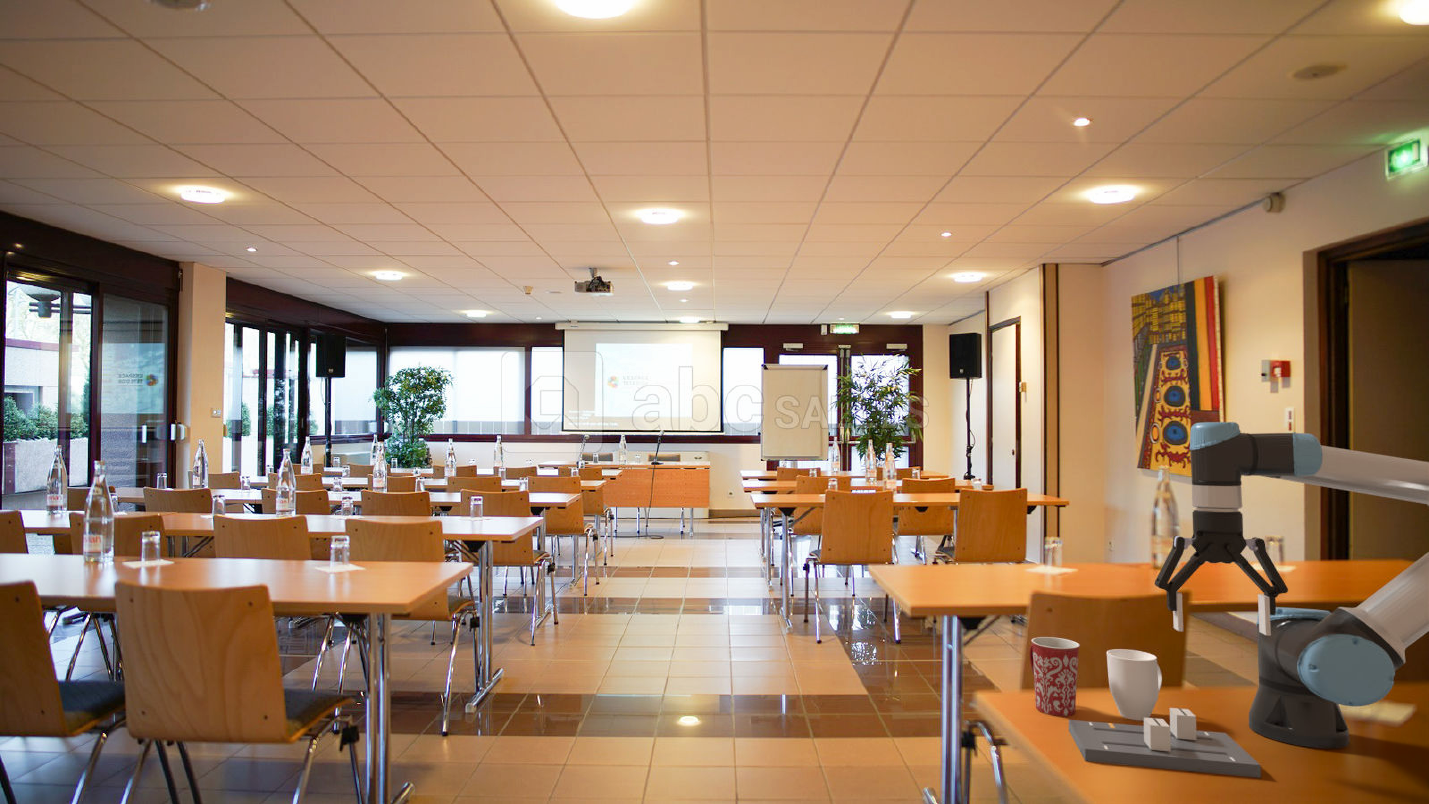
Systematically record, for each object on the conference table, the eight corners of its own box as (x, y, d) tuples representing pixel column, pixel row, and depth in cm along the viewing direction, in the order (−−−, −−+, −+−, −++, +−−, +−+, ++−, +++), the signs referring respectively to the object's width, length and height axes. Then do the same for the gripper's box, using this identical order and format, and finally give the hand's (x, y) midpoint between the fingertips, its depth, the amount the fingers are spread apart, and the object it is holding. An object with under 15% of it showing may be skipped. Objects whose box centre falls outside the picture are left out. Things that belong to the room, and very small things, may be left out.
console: (1225, 744, 144) (1225, 732, 145) (1260, 777, 130) (1260, 764, 130) (1068, 730, 151) (1068, 719, 151) (1085, 761, 136) (1085, 748, 136)
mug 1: (1090, 717, 158) (1089, 647, 159) (1046, 718, 157) (1046, 648, 158) (1054, 697, 171) (1054, 632, 172) (1014, 698, 170) (1013, 633, 170)
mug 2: (1138, 726, 154) (1135, 661, 154) (1099, 713, 162) (1096, 651, 162) (1180, 717, 158) (1177, 655, 159) (1139, 705, 166) (1137, 646, 167)
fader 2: (1188, 732, 144) (1188, 708, 144) (1196, 740, 140) (1195, 716, 141) (1170, 730, 145) (1169, 707, 145) (1177, 738, 141) (1176, 714, 141)
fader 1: (1163, 742, 139) (1162, 718, 139) (1170, 751, 135) (1170, 726, 135) (1144, 741, 140) (1143, 716, 140) (1150, 749, 136) (1150, 724, 136)
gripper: (1287, 509, 144) (1292, 630, 143) (1134, 506, 150) (1137, 623, 149) (1307, 512, 137) (1313, 640, 135) (1145, 509, 143) (1149, 632, 141)
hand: (1221, 632), depth 142 cm, fingers open, 13 cm apart
